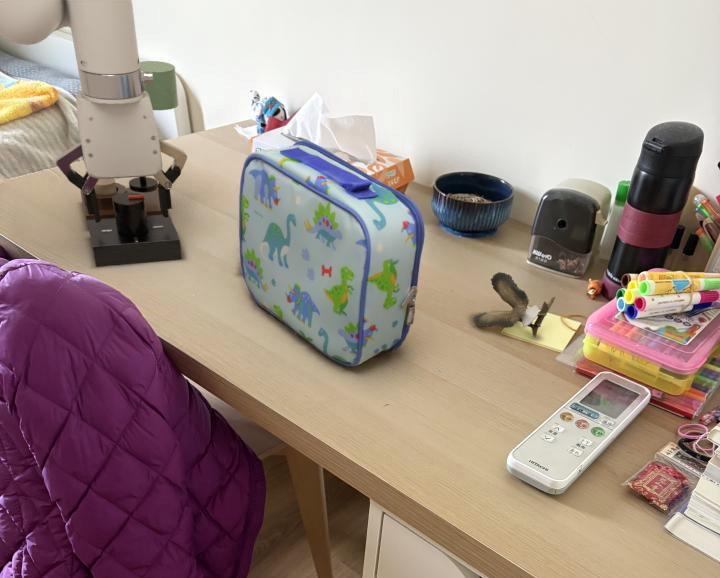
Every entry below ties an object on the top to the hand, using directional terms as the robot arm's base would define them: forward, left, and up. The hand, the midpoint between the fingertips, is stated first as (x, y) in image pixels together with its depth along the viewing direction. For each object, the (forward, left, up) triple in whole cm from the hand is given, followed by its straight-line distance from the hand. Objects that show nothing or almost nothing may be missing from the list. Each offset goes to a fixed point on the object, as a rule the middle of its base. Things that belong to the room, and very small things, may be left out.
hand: (131, 216), depth 103 cm
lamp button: (-3, +13, -1) cm, 13 cm away
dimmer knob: (0, 0, -2) cm, 2 cm away
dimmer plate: (0, 0, -5) cm, 5 cm away
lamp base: (0, +13, -5) cm, 14 cm away
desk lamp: (+6, +13, -1) cm, 14 cm away
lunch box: (+20, -27, -5) cm, 34 cm away
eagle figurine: (+45, -33, -5) cm, 56 cm away
